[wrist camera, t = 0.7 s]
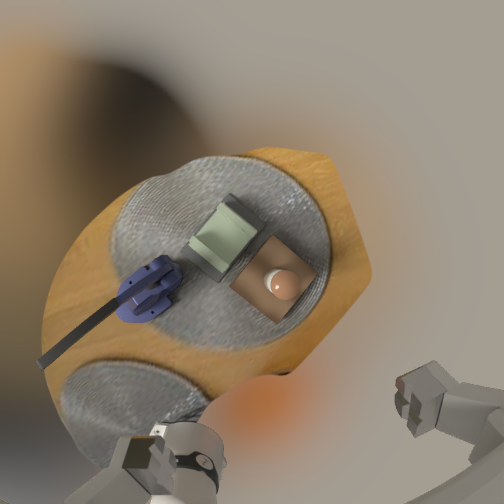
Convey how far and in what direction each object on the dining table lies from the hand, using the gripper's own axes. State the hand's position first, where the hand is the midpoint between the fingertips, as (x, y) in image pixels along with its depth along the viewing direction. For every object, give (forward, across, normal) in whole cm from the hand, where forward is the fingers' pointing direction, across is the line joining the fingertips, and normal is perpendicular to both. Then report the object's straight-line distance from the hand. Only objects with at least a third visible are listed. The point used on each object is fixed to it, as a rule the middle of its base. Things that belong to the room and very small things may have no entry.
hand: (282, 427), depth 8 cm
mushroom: (+43, +4, -11) cm, 44 cm away
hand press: (+44, -20, -7) cm, 49 cm away
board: (+45, +3, -11) cm, 47 cm away
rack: (+46, -4, -1) cm, 46 cm away
